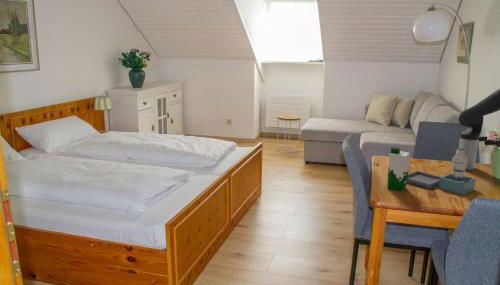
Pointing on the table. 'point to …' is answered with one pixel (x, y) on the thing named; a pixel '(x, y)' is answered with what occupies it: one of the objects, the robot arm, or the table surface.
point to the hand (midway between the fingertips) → (481, 140)
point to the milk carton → (398, 169)
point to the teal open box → (457, 184)
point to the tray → (423, 179)
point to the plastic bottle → (459, 166)
